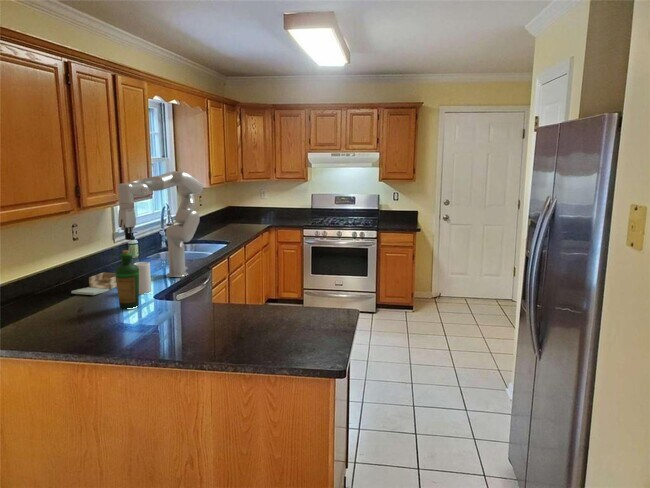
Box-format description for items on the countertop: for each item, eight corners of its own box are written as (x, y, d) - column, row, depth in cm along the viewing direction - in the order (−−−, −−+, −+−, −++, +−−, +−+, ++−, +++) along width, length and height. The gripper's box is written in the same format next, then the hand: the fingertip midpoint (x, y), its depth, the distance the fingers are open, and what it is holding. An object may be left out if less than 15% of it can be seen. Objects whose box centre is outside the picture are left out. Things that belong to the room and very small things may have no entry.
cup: (154, 290, 251) (152, 262, 248) (146, 294, 243) (145, 265, 240) (139, 290, 252) (138, 261, 249) (132, 294, 244) (130, 264, 241)
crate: (103, 283, 263) (102, 272, 262) (124, 284, 261) (123, 273, 260) (89, 289, 252) (88, 277, 250) (111, 290, 249) (110, 279, 248)
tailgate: (89, 287, 251) (71, 291, 238) (110, 288, 249) (93, 292, 235) (89, 289, 251) (71, 293, 238) (110, 290, 249) (93, 295, 236)
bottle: (112, 308, 219) (108, 251, 214) (130, 303, 229) (127, 247, 224) (127, 312, 215) (124, 254, 210) (146, 306, 224) (143, 250, 219)
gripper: (128, 204, 257) (130, 237, 260) (111, 207, 242) (114, 241, 246) (140, 205, 256) (142, 237, 259) (124, 207, 241) (126, 242, 244)
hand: (128, 239), depth 252 cm, fingers closed
